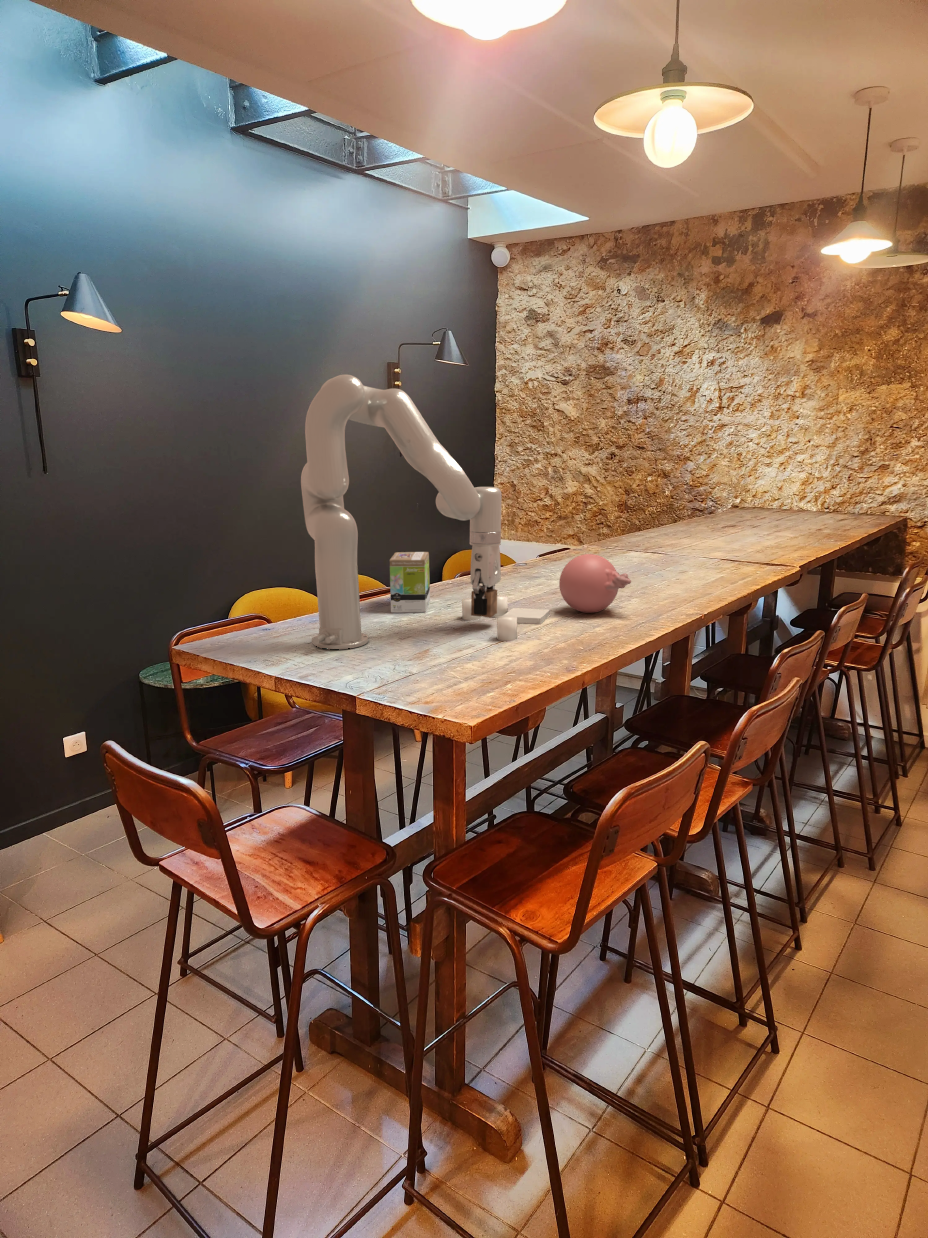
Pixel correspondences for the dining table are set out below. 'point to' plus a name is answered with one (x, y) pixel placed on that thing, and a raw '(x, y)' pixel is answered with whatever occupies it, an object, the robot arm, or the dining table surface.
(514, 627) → the cup
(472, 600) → the walnut block
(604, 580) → the pink balloon
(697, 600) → the dining table surface
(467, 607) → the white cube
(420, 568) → the tea box
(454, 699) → the dining table surface
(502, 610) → the white cylinder
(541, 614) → the stone coaster
